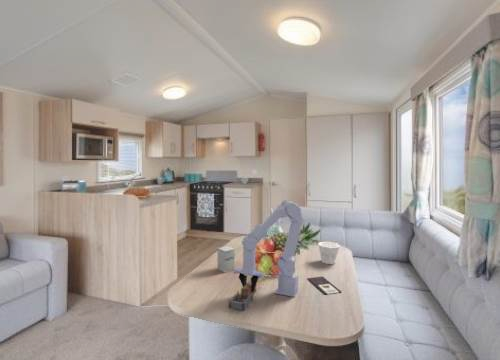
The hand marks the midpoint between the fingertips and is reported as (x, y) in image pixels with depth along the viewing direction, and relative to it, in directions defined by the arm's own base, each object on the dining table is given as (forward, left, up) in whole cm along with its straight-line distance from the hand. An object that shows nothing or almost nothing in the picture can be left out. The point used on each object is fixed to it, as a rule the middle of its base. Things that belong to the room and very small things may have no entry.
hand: (249, 290), depth 135 cm
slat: (0, 0, -2) cm, 2 cm away
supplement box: (+24, -23, -3) cm, 33 cm away
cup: (-29, -59, -3) cm, 66 cm away
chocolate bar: (-31, -24, -3) cm, 39 cm away
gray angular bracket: (0, +9, -2) cm, 9 cm away
